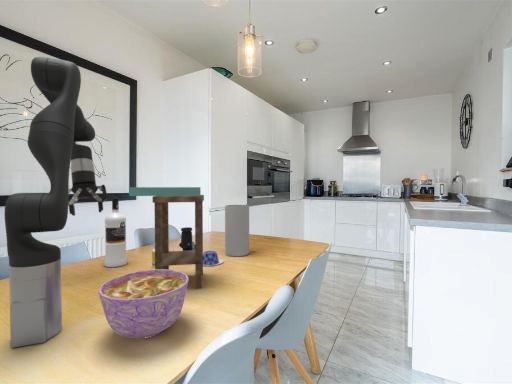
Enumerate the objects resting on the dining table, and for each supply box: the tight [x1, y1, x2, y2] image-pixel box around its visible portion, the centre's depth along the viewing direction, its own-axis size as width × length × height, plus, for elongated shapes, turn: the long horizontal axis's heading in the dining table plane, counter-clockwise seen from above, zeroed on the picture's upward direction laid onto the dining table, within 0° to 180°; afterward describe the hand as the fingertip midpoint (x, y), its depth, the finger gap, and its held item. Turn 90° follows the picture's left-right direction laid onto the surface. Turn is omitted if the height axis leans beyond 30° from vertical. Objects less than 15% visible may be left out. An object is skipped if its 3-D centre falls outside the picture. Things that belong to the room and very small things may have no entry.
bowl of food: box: [98, 269, 190, 339], centre depth 64 cm, size 20×20×12 cm
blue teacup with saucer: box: [203, 250, 224, 267], centre depth 120 cm, size 12×12×5 cm
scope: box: [178, 226, 195, 251], centre depth 132 cm, size 8×14×10 cm
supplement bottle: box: [151, 243, 155, 268], centre depth 115 cm, size 5×5×10 cm
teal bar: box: [128, 186, 202, 197], centre depth 94 cm, size 24×3×3 cm, turn 100°
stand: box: [152, 194, 205, 290], centre depth 95 cm, size 16×16×32 cm
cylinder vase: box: [224, 204, 250, 258], centre depth 135 cm, size 12×12×25 cm
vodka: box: [103, 197, 128, 268], centre depth 116 cm, size 9×9×30 cm
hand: (87, 213), depth 98 cm, fingers open, 8 cm apart
